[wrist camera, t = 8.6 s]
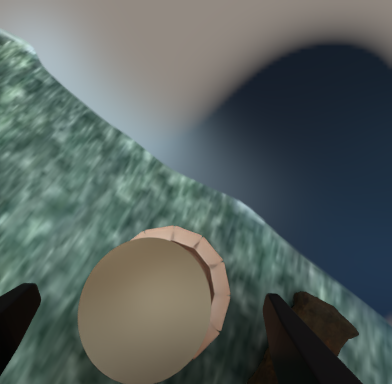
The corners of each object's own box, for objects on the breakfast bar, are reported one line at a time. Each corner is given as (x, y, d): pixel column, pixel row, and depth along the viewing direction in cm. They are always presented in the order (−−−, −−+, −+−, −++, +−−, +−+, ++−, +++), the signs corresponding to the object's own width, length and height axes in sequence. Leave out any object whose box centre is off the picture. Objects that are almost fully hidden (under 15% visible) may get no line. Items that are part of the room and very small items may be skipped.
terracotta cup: (243, 293, 17) (256, 298, 14) (159, 375, 15) (151, 405, 12) (179, 216, 19) (177, 203, 16) (98, 279, 17) (75, 280, 14)
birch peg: (207, 302, 16) (234, 340, 7) (152, 331, 16) (99, 417, 6) (184, 248, 18) (180, 218, 8) (132, 272, 17) (63, 269, 8)
